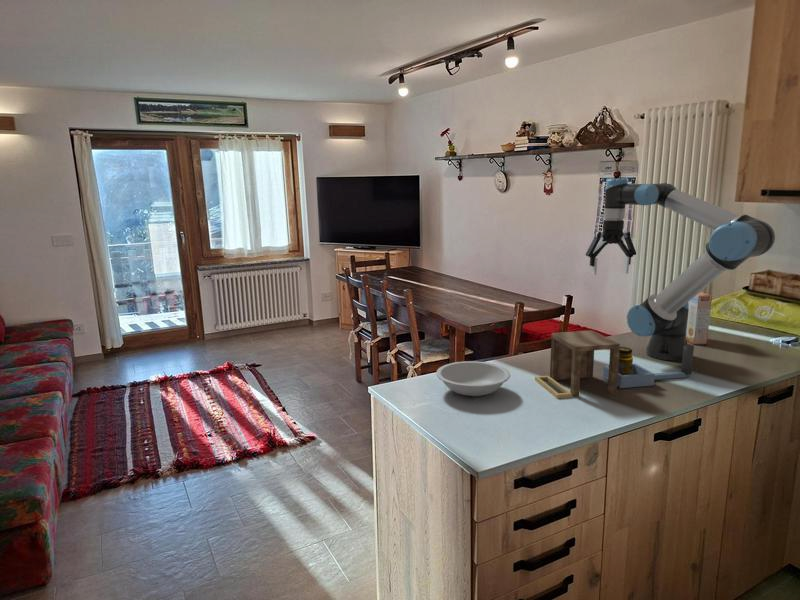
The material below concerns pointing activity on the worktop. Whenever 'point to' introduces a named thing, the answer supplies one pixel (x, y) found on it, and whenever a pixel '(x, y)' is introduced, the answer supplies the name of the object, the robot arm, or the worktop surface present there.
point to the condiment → (624, 361)
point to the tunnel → (581, 357)
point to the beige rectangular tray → (553, 387)
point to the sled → (647, 378)
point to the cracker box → (698, 318)
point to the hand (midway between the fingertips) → (609, 273)
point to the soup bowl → (473, 377)
